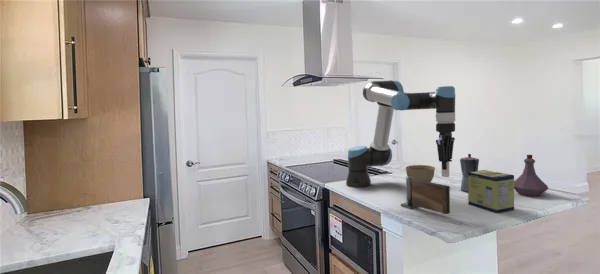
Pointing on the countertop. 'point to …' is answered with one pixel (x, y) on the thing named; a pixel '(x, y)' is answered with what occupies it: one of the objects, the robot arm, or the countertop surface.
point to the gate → (431, 196)
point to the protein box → (491, 190)
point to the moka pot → (467, 169)
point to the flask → (529, 180)
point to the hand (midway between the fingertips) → (445, 176)
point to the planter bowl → (421, 172)
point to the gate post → (409, 194)
